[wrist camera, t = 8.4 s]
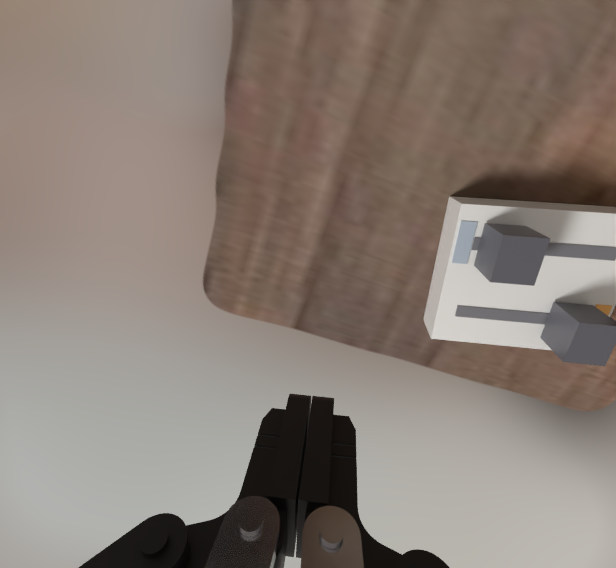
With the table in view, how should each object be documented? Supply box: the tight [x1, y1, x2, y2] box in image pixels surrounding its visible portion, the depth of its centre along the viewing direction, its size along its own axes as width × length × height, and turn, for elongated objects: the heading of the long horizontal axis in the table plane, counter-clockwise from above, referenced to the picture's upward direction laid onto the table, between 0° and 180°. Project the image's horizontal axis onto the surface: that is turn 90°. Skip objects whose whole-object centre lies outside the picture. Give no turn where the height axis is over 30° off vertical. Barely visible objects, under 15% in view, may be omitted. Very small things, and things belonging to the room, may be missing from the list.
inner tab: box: [474, 223, 550, 286], centre depth 29 cm, size 4×4×4 cm
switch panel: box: [423, 196, 616, 350], centre depth 34 cm, size 16×14×4 cm
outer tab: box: [540, 302, 616, 366], centre depth 31 cm, size 4×4×4 cm
